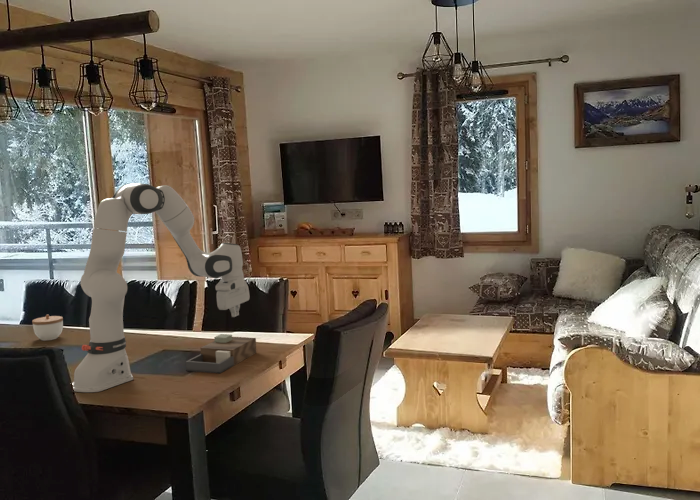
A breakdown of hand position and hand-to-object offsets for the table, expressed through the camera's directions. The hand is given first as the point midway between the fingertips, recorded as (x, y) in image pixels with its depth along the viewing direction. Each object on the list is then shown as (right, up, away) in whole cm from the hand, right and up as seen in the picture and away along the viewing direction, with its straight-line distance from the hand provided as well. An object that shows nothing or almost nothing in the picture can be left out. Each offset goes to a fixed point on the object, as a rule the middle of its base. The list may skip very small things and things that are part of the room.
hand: (235, 316), depth 255 cm
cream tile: (0, -13, -21) cm, 25 cm away
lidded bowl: (-90, -14, +31) cm, 97 cm away
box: (-5, -17, -24) cm, 29 cm away
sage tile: (-3, -9, -8) cm, 13 cm away
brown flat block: (0, -15, -11) cm, 18 cm away
